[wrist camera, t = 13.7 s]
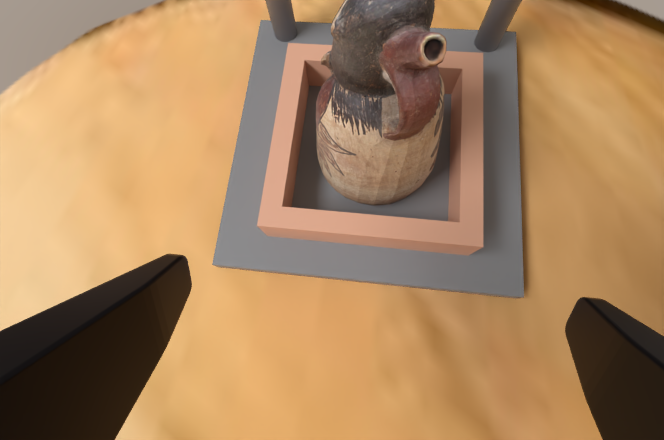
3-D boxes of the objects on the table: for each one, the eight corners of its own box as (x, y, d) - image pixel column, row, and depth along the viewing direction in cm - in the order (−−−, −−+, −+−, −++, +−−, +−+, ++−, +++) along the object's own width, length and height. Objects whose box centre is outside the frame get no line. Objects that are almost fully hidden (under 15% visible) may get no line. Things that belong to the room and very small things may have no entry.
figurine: (406, 92, 24) (456, -119, 13) (450, 186, 22) (556, 39, 11) (305, 126, 24) (260, -58, 12) (339, 224, 22) (325, 115, 10)
